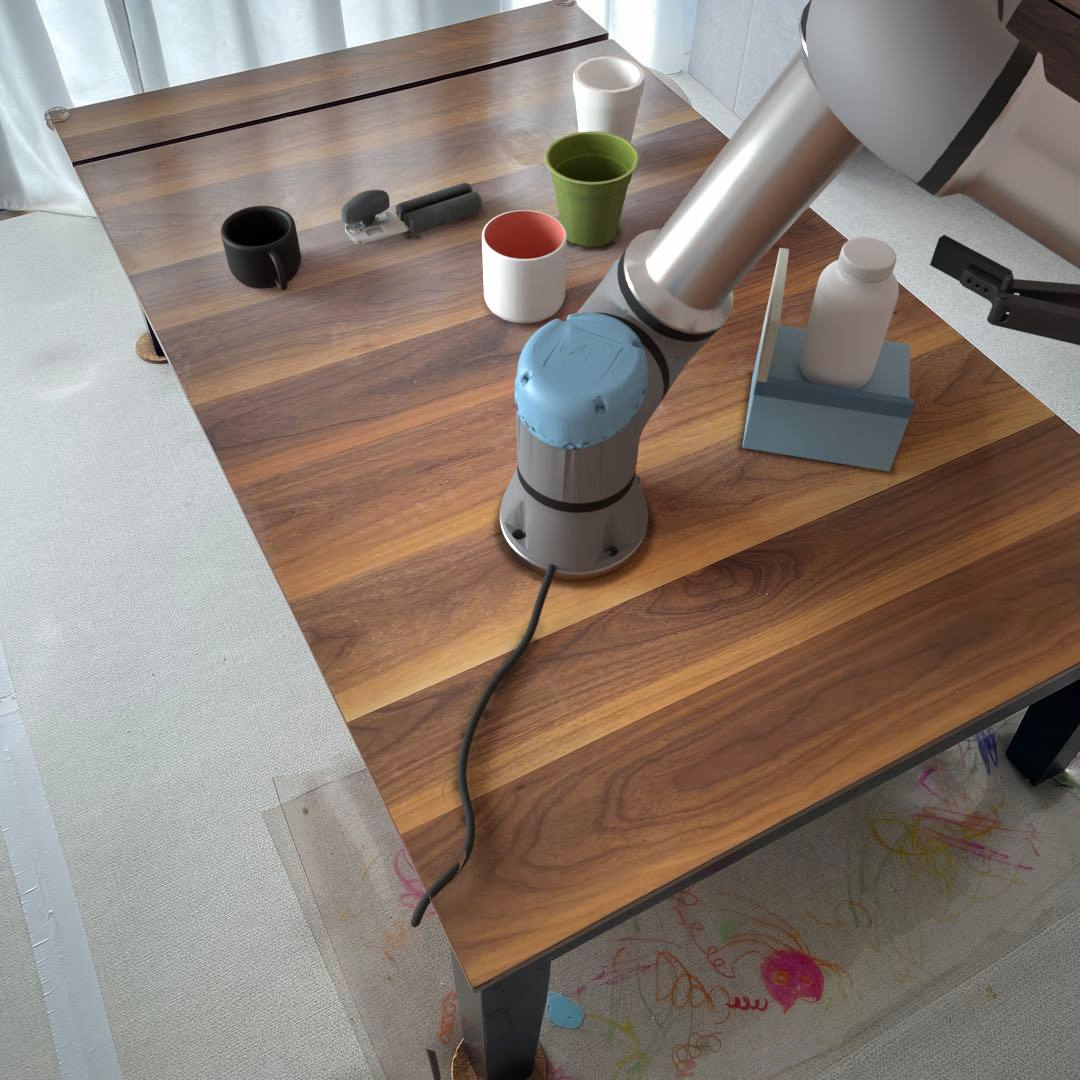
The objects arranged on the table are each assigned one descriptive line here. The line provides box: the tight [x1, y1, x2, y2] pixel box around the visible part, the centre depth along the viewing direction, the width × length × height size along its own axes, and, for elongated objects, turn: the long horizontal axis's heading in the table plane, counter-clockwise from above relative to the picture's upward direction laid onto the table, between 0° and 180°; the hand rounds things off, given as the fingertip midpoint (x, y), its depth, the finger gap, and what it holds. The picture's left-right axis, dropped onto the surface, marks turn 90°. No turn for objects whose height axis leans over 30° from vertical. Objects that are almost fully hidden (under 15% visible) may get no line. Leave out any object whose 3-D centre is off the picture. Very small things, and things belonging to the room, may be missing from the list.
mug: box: [220, 205, 302, 291], centre depth 138 cm, size 12×9×7 cm
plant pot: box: [544, 131, 640, 248], centre depth 143 cm, size 12×12×11 cm
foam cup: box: [572, 55, 646, 144], centre depth 153 cm, size 10×9×13 cm
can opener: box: [340, 182, 483, 246], centre depth 146 cm, size 19×5×6 cm, turn 121°
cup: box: [481, 209, 568, 325], centre depth 135 cm, size 10×10×10 cm
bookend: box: [741, 247, 915, 472], centre depth 119 cm, size 12×16×18 cm
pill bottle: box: [799, 236, 900, 390], centre depth 114 cm, size 8×8×15 cm
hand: (982, 217), depth 96 cm, fingers open, 13 cm apart
